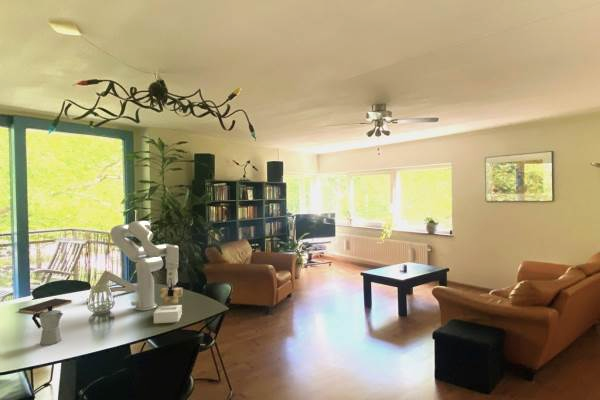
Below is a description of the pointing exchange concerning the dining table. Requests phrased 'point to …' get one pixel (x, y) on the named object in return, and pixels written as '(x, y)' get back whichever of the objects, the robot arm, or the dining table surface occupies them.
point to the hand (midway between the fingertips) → (171, 294)
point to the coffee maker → (49, 326)
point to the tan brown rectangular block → (171, 299)
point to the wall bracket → (125, 284)
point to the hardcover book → (45, 306)
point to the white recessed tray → (168, 314)
